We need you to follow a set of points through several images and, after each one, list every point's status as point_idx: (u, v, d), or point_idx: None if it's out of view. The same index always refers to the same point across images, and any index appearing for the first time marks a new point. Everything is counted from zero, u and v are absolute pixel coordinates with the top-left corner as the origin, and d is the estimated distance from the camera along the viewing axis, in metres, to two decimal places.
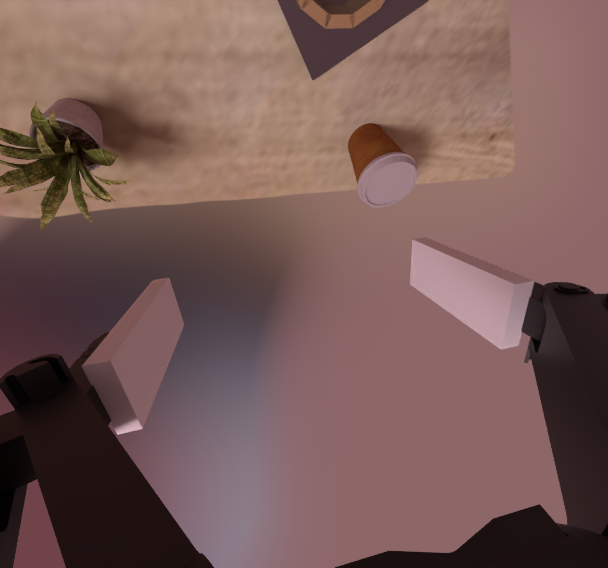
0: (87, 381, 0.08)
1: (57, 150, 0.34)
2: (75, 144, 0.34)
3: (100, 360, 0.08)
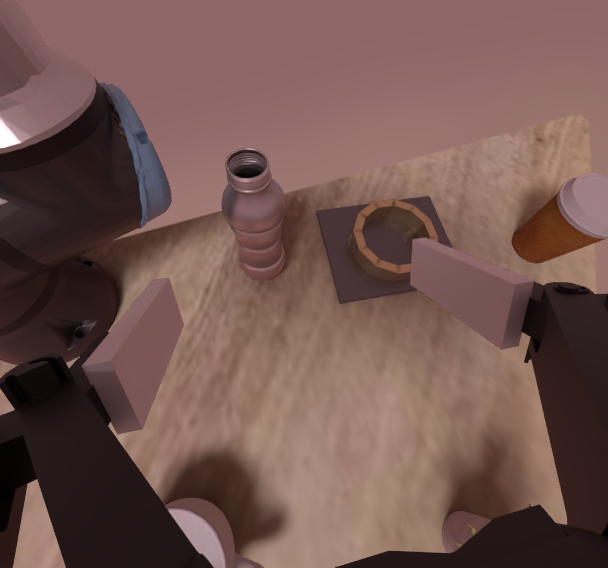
0: (87, 381, 0.08)
1: None
2: None
3: (100, 360, 0.08)
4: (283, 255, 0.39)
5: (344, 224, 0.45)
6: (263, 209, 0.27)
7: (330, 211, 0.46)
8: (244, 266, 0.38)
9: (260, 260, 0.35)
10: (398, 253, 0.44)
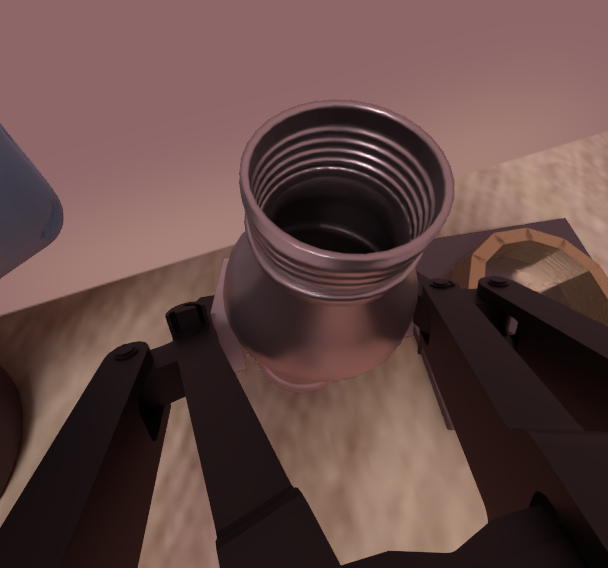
0: None
1: None
2: None
3: (222, 309, 0.10)
4: None
5: (436, 270, 0.26)
6: (373, 333, 0.07)
7: None
8: (270, 376, 0.19)
9: None
10: None
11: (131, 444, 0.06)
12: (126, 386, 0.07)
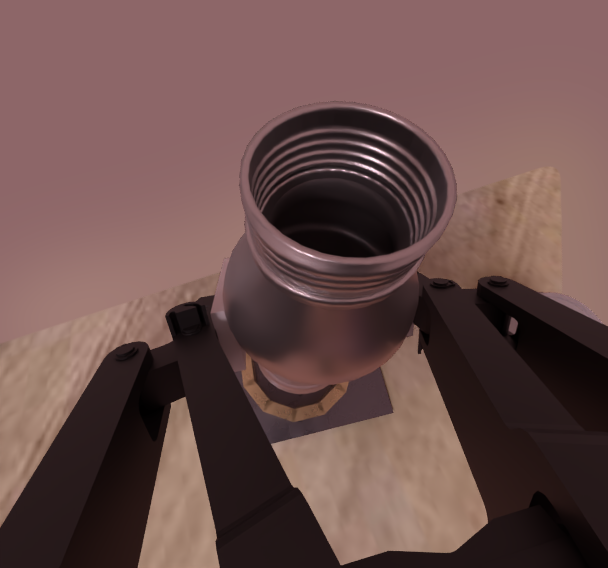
0: None
1: None
2: None
3: (223, 309, 0.10)
4: None
5: None
6: (373, 335, 0.07)
7: None
8: (270, 377, 0.18)
9: None
10: None
11: (131, 444, 0.06)
12: (126, 386, 0.07)
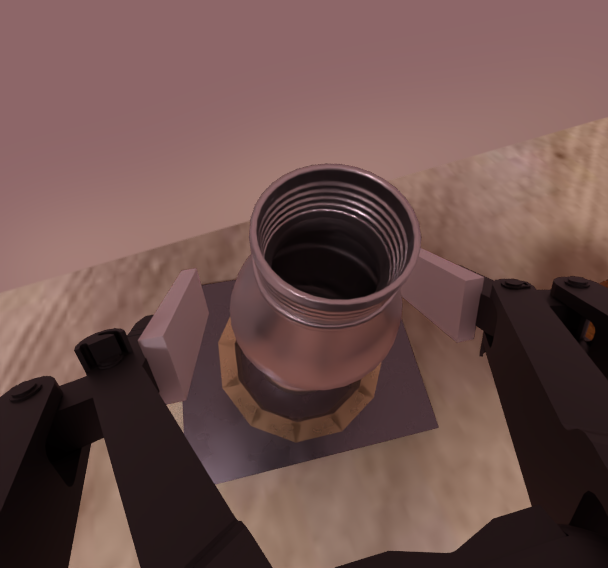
0: (140, 355, 0.09)
1: None
2: None
3: (153, 335, 0.09)
4: None
5: (223, 315, 0.25)
6: (361, 349, 0.09)
7: None
8: (271, 379, 0.20)
9: None
10: None
11: (38, 495, 0.06)
12: (27, 430, 0.06)
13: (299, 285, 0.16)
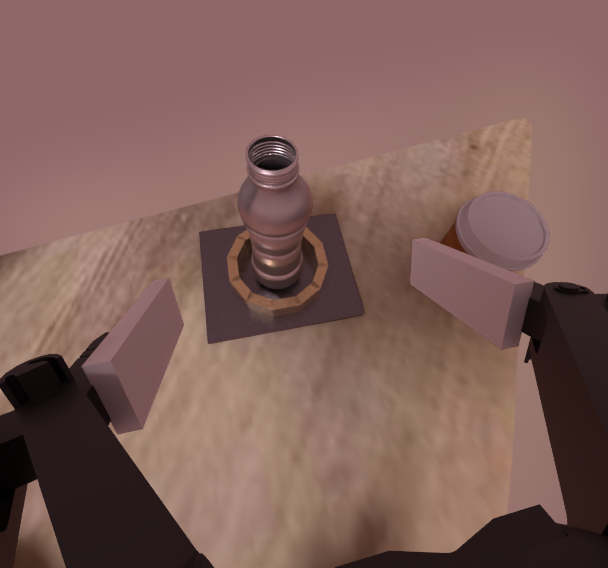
0: (87, 381, 0.08)
1: None
2: None
3: (100, 360, 0.08)
4: (302, 261, 0.34)
5: (229, 247, 0.39)
6: (288, 209, 0.22)
7: (215, 232, 0.40)
8: (258, 273, 0.33)
9: (278, 267, 0.31)
10: None
11: None
12: None
13: None
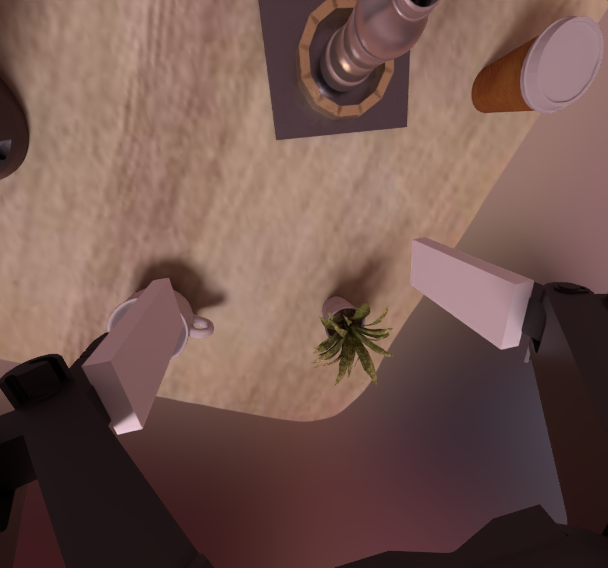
0: (87, 381, 0.08)
1: None
2: None
3: (100, 360, 0.08)
4: None
5: (292, 24, 0.36)
6: (408, 37, 0.24)
7: None
8: (331, 75, 0.35)
9: (357, 76, 0.33)
10: None
11: None
12: None
13: None
